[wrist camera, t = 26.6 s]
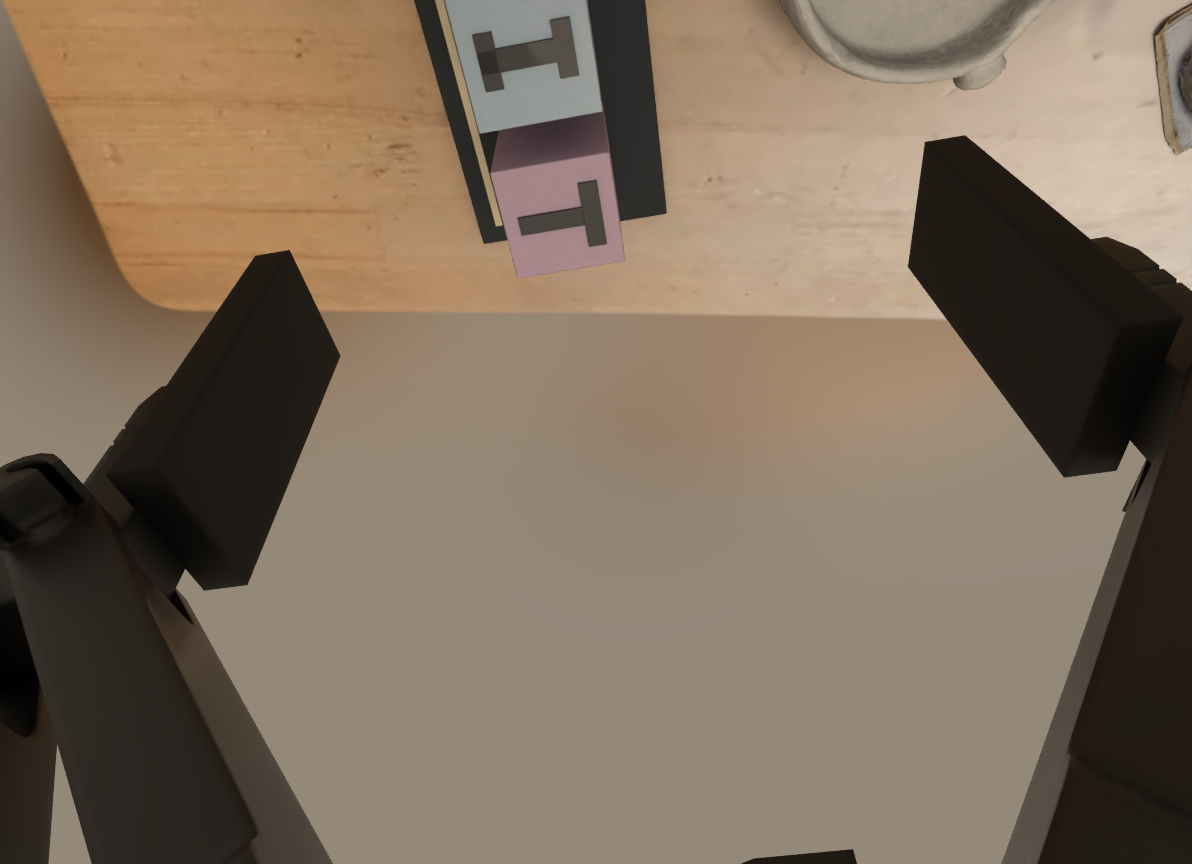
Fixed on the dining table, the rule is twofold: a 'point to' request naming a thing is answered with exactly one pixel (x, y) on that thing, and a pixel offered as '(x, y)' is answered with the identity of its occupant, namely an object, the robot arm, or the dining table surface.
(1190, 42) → the donut
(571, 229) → the letter T
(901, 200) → the dining table surface
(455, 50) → the word board
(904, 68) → the dish
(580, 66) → the letter I
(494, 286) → the dining table surface
